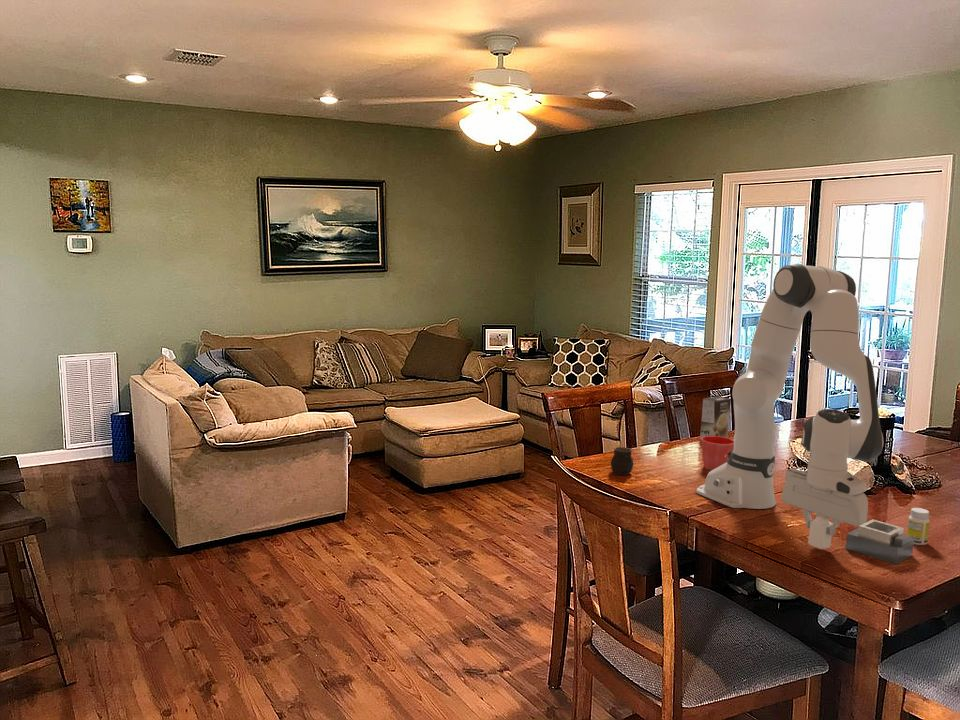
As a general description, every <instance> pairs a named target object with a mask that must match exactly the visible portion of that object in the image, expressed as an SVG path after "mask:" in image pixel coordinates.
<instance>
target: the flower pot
mask: <svg viewBox="0 0 960 720" xmlns="http://www.w3.org/2000/svg"><path fill="white" fill-rule="evenodd" d="M700 441H701V452H702V462H703V463H702V465H703V467H704V468H705V469H706V470H707V471H712V470H714V469H715V468H717V467H719V466H721V465H722V464H724V463H726V462H727V460H728V457H725V456H726V455H727V454H726V453H729V452H730V451H733V449H734V439H731V438H729V437H728V438H725V437H719V436H706V437H702V438H701V440H700ZM725 454H726V455H725Z"/></svg>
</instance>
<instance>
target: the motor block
mask: <svg viewBox="0 0 960 720" xmlns="http://www.w3.org/2000/svg"><path fill="white" fill-rule="evenodd" d="M904 531H905V528H904V527H901V526H898V525H894V524H891V523H888V522H885V521H884V522H883V521H880V520H877V519H870V520H867V521H866V522H865V523H864V524H862V525H859V526H858V528H855V529H854V530H850V531H849V532H847V534H846V540H845V541H846V544H845V549H846V550H848V551H851V552H855V553H857V554H861V555H864V556H867V557H871V558H873V559H876V560H880V561H883V562H886V563H889V564H892V565H894V566H895V565H896V566H897V565H898V564H900V563H902V562H904V561H905V560H907V559H909V558H910V557H912V556H913V551H914V544H913V543H914V540H912V539H910V536H908V535H907V534H904Z"/></svg>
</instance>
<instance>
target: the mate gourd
mask: <svg viewBox="0 0 960 720" xmlns="http://www.w3.org/2000/svg"><path fill="white" fill-rule="evenodd" d="M634 447H635V445H632V446H631V447H630V448H629V447H625V446H617V447H614V449H613V456H612V458H611V460H610V467H611V471H612V472H613V474H616V475H618V476H626V475H629V474H630V473H631V472H632V470H633V468H634V462H633V461H634V460H633V458H632V457H633V456H632V451H633V450H632V449H633V448H634Z"/></svg>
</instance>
